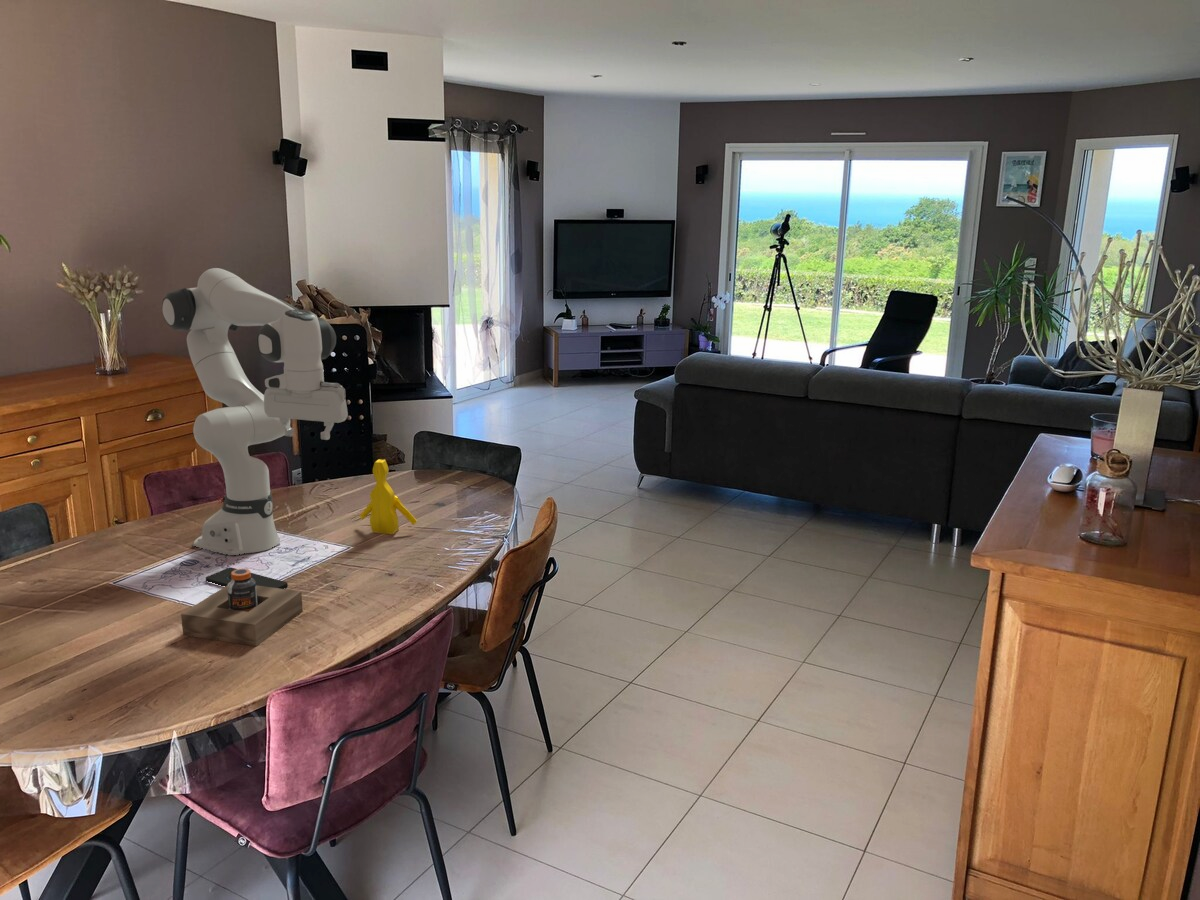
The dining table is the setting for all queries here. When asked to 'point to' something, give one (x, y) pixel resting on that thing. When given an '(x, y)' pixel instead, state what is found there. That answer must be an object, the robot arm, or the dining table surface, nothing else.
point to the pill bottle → (242, 591)
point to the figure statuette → (384, 503)
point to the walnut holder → (242, 616)
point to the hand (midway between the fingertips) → (307, 437)
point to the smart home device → (225, 577)
